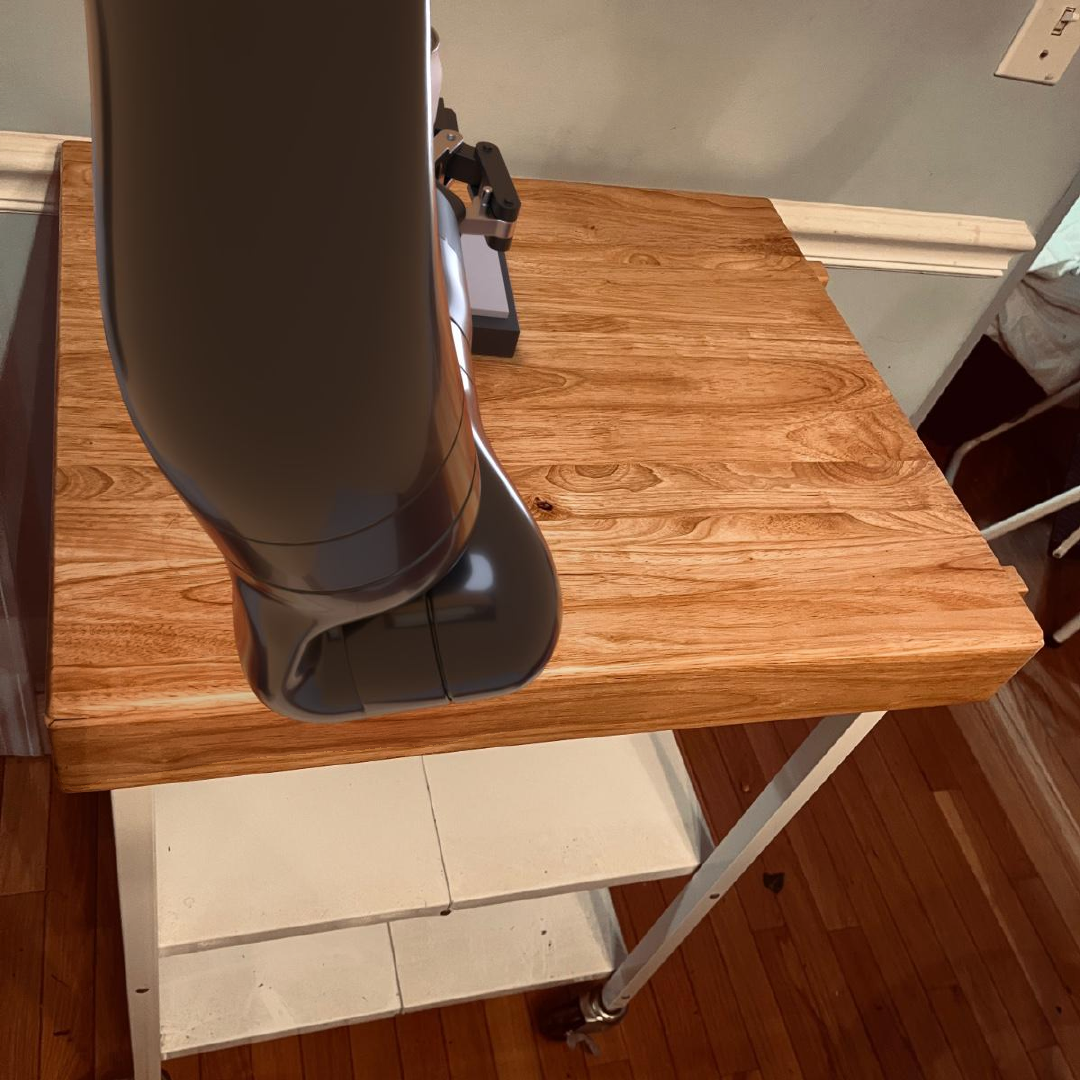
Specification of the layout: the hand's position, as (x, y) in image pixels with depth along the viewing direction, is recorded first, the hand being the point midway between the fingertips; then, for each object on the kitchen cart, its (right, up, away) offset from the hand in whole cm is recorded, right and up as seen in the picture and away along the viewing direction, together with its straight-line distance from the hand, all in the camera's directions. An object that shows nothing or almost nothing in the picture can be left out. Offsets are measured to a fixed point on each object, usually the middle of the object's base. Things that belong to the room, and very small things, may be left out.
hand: (368, 102), depth 56 cm
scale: (-1, -4, +21) cm, 22 cm away
